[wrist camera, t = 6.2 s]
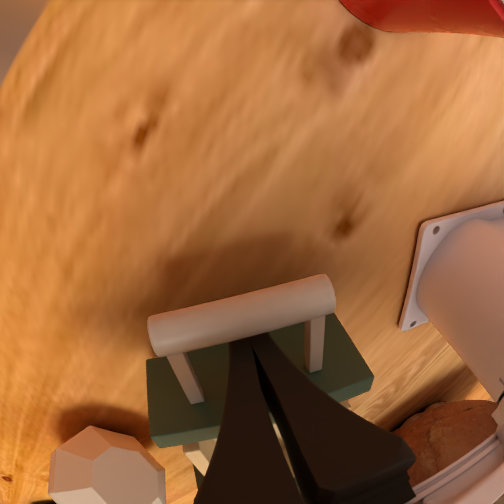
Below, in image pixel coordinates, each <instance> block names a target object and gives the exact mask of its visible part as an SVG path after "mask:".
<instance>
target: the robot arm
mask: <svg viewBox="0 0 504 504" xmlns="http://www.w3.org/2000/svg"><path fill="white" fill-rule="evenodd" d="M428 321H431V323H432V324H433V325H434V326H435V327H436V328H437V329H438V331H439V332H440V333H441V334H442V335H443V337H444V338H445V339H446V340H447V341H448V343H449V344H450V345H451V346H452V347H453V349H454V350H455V351H456V352H457V353H458V355H459V356H460V357H461V358H462V360H463V361H464V362H465V363H466V365H467V366H468V367H469V368H470V370H471V371H472V372H473V373H474V375H475V376H476V377H477V379H478V380H479V381H480V382H481V384H482V385H483V386H484V388H485V389H486V390H487V392H488V393H489V394H490V396H491V397H492V398H493V400H494V401H495V402H496V404H499V406H498V407H497V409H496V410H495V411H494V412H493V413H492V417H493V418H494V420H495V421H496V423H497V424H498V426H497V429H496V432H495V433H494V434H492V435H491V436H490V437H489V438H487V439H486V440H485V441H483V442H482V443H481V444H479V445H478V446H477V447H475V448H474V449H473V450H471V451H470V452H469V453H467V454H466V455H464V456H463V457H461V458H460V459H458V460H457V461H455V462H454V463H452V464H451V465H449V466H448V467H446V468H445V469H443V470H441V471H440V472H438V473H437V474H435V475H433V476H432V477H430V478H428V479H427V480H425V481H423V482H421V483H420V484H418V485H416V486H414V487H411V485H410V483H409V480H410V476H409V475H408V473H407V470H408V469H409V468H410V467H411V466H412V465H413V464H414V463H415V461H416V459H417V458H416V456H415V454H414V452H413V450H412V449H411V448H410V446H409V445H408V444H407V443H406V442H405V440H404V439H403V438H402V437H400V436H398V435H396V434H394V433H391V432H389V431H387V430H385V429H383V428H381V427H379V426H377V425H375V424H373V423H371V422H369V421H367V420H365V419H364V418H362V417H360V416H359V415H357V414H355V413H354V412H352V411H351V410H349V409H347V408H346V407H344V406H343V405H341V404H340V403H339V402H337V401H336V400H334V399H333V398H332V397H330V396H329V395H328V394H327V393H325V392H324V391H323V390H321V389H320V388H319V387H318V386H317V385H316V384H314V383H313V382H312V381H311V380H310V379H309V378H308V377H307V376H306V375H305V374H304V373H303V372H302V371H301V370H300V369H299V368H298V367H297V366H296V365H295V364H294V363H293V362H292V361H291V360H290V359H289V358H288V357H287V356H286V355H285V353H284V352H283V351H282V350H281V349H280V347H279V346H278V345H277V344H276V342H275V341H274V340H273V338H272V337H271V336H270V334H269V333H268V332H265V333H262V334H258V335H254V336H250V337H246V338H243V339H239V340H235V341H231V342H228V344H229V374H228V386H227V393H226V400H225V407H224V412H223V417H222V422H221V426H220V430H219V434H218V437H217V441H216V445H215V448H214V451H213V454H212V457H211V460H210V463H209V465H208V468H207V471H206V474H205V476H204V479H203V481H202V483H201V485H200V488H199V490H198V492H197V494H196V497H195V499H194V504H414V503H416V502H418V501H419V500H420V501H419V502H418V503H417V504H493V503H494V502H495V501H496V500H497V499H498V498H500V497H501V496H502V495H503V494H504V201H500V202H497V203H493V204H489V205H485V206H481V207H478V208H474V209H470V210H466V211H462V212H459V213H455V214H451V215H447V216H443V217H439V218H436V219H432V220H428V221H425V222H424V223H423V224H422V225H421V227H420V229H419V234H418V240H417V246H416V251H415V257H414V262H413V267H412V272H411V277H410V281H409V286H408V290H407V294H406V299H405V303H404V307H403V311H402V315H401V319H400V322H399V328H400V330H401V331H403V332H404V331H407V330H410V329H412V328H414V327H417V326H419V325H421V324H423V323H426V322H428ZM261 391H262V392H261ZM262 394H263V395H262ZM263 396H264V398H265V400H266V403H267V405H268V407H269V410H270V412H271V414H272V416H273V419H274V421H275V423H276V425H277V428H278V430H279V432H280V435H281V437H282V440H283V443H284V446H285V449H286V451H287V454H288V457H289V460H290V463H291V466H292V469H293V472H294V475H295V478H296V481H297V484H298V487H299V489H298V487H297V484H296V482H295V480H294V477H293V475H292V473H291V470H290V468H289V465H288V463H287V460H286V458H285V455H284V453H283V450H282V448H281V445H280V443H279V440H278V437H277V435H276V432H275V429H274V427H273V424H272V421H271V419H270V416H269V413H268V410H267V407H266V405H265V402H264V399H263ZM299 490H300V491H299ZM300 493H301V494H300Z"/></svg>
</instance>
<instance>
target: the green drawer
mask: <svg viewBox="0 0 504 504" xmlns="http://www.w3.org/2000/svg"><path fill="white" fill-rule="evenodd" d="M335 309H336V295H335V291H334V288H333V285H332V283H331V281H330V279H329V278H328V276H327V275H325V274H318V275H314V276H311V277H307V278H303V279H299V280H296V281H292V282H288V283H284V284H280V285H276V286H272V287H269V288H265V289H261V290H257V291H253V292H249V293H245V294H241V295H237V296H233V297H228V298H224V299H220V300H216V301H212V302H208V303H203V304H199V305H195V306H191V307H186V308H182V309H178V310H173V311H169V312H164V313H160V314H155V315H151V316H149V317H148V320H147V328H148V334H149V339H150V342H151V345H152V348H153V350H154V352H155V354H156V355H157V356H158V357H157V358H152V359H147V360H146V375H147V399H148V416H149V430H150V438H151V439H152V440H153V441H154V442H155V443H156V444H157V445H158V447H159V448H165V447H171V446H178V445H183V452H184V454H185V455H186V456H187V457H188V458H189V460H190V461H191V462H192V463H193V464H194V465H195V467H196V468H197V469H198V470H199V471H200V472H201V473H202V474H203V476H205V474H206V471H207V468H208V465H209V463H210V460H211V457H212V454H213V451H214V448H215V445H216V441H217V437H218V434H219V430H220V426H221V422H222V417H223V412H224V407H225V400H226V393H227V386H228V374H229V344H228V342H231V341H235V340H239V339H243V338H246V337H250V336H254V335H258V334H262V333H265V332H268V333H269V334H270V336H271V337H272V338H273V340H274V341H275V342H276V344H277V345H278V346H279V347H280V349H281V350H282V351H283V352H284V353H285V355H286V356H287V357H288V358H289V359H290V360H291V361H292V362H293V363H294V364H295V365H296V366H297V367H298V368H299V369H300V370H301V371H302V372H303V373H304V374H305V375H306V376H307V377H308V378H309V379H310V380H311V381H312V382H313V383H314V384H316V385H317V386H318V387H319V388H320V389H321V390H323V391H324V392H325V393H327V394H328V395H329V396H330V397H332V398H333V399H334V400H336V401H337V402H339V403H340V404H341V405H343V406H344V407H346V408H347V409H349V410H350V408H351V407H350V405H349V403H348V401H347V399H350V398H352V397H355V396H358V395H360V394H363V393H365V392H367V391H369V390H370V388H371V385H372V382H373V379H374V375H373V374H372V372H371V370H370V369H369V367H368V366H367V364H366V362H365V361H364V359H363V358H362V356H361V354H360V353H359V351H358V350H357V348H356V347H355V345H354V343H353V342H352V340H351V339H350V337H349V335H348V334H347V332H346V331H345V329H344V328H343V326H342V325H341V323H340V321H339V320H338V318H337V317H336V315H335V314H334V313H333V312H334V311H335ZM261 392H262V391H261ZM262 395H263V394H262ZM263 399H264V402H265V405H266V407H267V410H268V413H269V416H270V419H271V421H272V424H273V427H274V429H275V432H276V435H277V437H278V440H279V443H280V445H281V448H282V450H283V453H284V455H285V458H286V460H287V463H288V465H289V468H290V470H291V473H292V475H293V477H295V475H294V472H293V469H292V466H291V463H290V460H289V457H288V454H287V451H286V449H285V446H284V443H283V440H282V437H281V435H280V432H279V430H278V428H277V425H276V423H275V421H274V419H273V416H272V414H271V412H270V410H269V407H268V405H267V403H266V400H265V398H264V396H263Z"/></svg>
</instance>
